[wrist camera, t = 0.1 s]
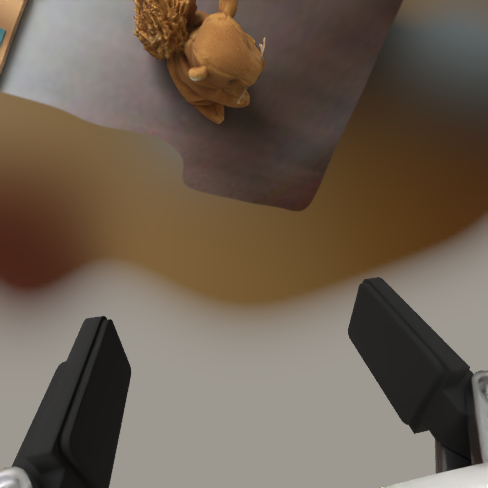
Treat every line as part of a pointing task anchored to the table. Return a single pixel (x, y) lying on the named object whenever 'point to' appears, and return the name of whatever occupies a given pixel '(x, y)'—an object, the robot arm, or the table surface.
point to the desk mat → (9, 25)
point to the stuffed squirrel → (201, 52)
